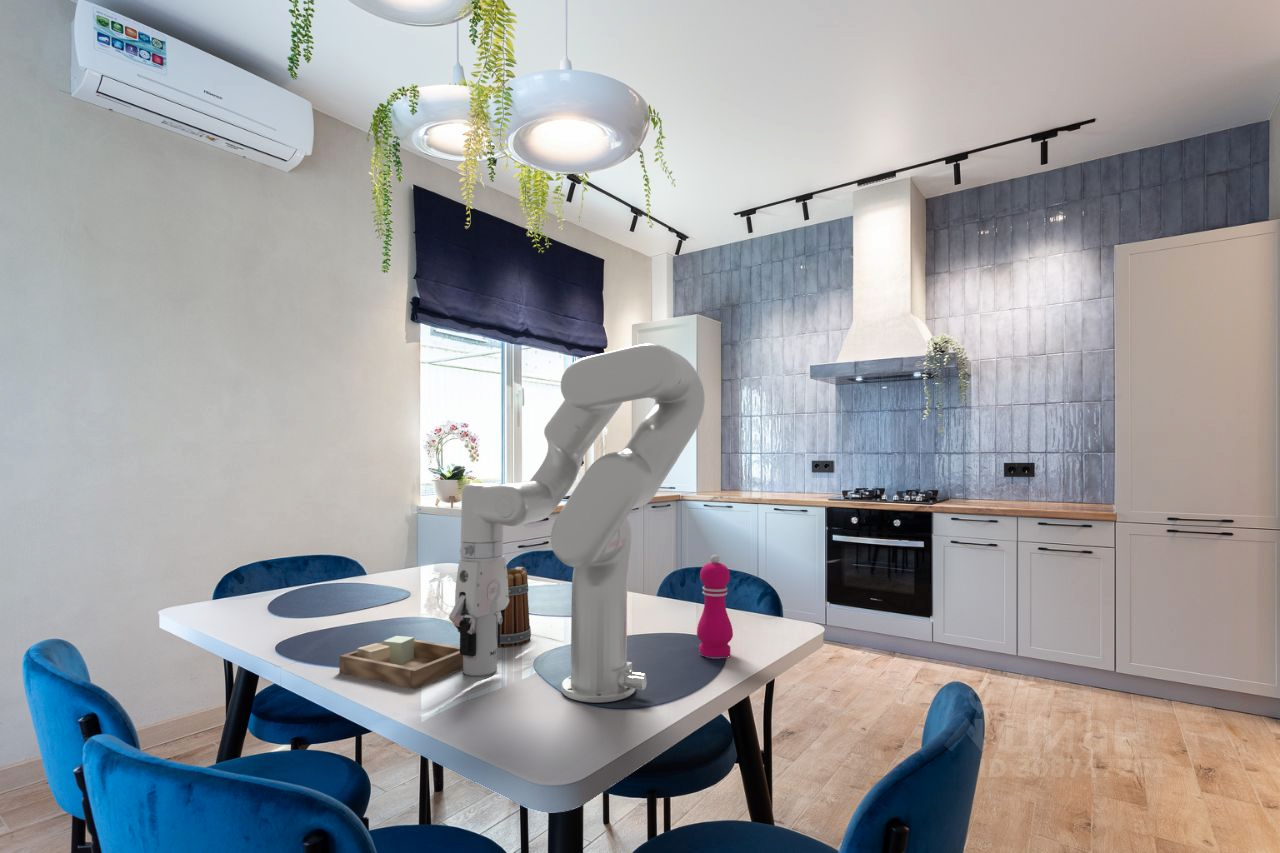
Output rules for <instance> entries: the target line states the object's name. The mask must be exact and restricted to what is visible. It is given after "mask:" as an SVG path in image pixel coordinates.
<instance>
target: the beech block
mask: <svg viewBox="0 0 1280 853" xmlns="http://www.w3.org/2000/svg"><path fill="white" fill-rule="evenodd" d="M378 643H379V642H375V643H371V644H368V645H365V646H361V647H357V648H356V650H357V657H360V658H366V659H371V660H376V661H381V662H386V663H390V647H389V646H386V645H382V644H378Z"/></svg>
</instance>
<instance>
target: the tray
mask: <svg viewBox="0 0 1280 853" xmlns="http://www.w3.org/2000/svg"><path fill="white" fill-rule="evenodd" d="M377 643H378V644H382V645H383V641H382V642H381V641H380V642H377ZM460 670H463V655H461V654H460V646H455V645H450V644H443V643H437V642H432V641H425V640H421V639H415V638H414V658H413V659H411V660H409V661H407V662H405V663H403V664H401V665H400V664H391V663H386V662H381V661H376V660H371V659H366V658H360V657H357V649H356V650H354V651H350V652H347V653H344V654H341V655H339V671H338V672H339V674H341V675H348V676H352V677H355V678H360V679H361V678H362V679H366V680H371V681H375V682H379V683H385V684H388V685H393V686H398V687H403V688H406V689H407V688H408V689H412V690H416V689H418V688H420V687H423V686H425V685H428V684H430V683H432V682H435V681H437V680H440V679H441V678H444V677H446V676H448V675H452V674H453V673H456V672H458V671H460Z"/></svg>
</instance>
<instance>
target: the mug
mask: <svg viewBox="0 0 1280 853" xmlns="http://www.w3.org/2000/svg"><path fill="white" fill-rule="evenodd" d="M507 575H508V598H509V603H508V606H507V607H506V609H505V613H504V614H503V616H502V619H503V620H502V623H501V624H500V645H499V646H497V648H513V647H518V646H519V647H520V646H522V645H525V644H528V643H529V642H530V641H531V637H532V632H531V631H532V629H531V625H530V608H529V581H528V579H529V578H528V572H527V569H526V567H525V566H516V567H514V568H510V570H509V568H507Z"/></svg>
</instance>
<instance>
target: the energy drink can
mask: <svg viewBox="0 0 1280 853" xmlns="http://www.w3.org/2000/svg"><path fill="white" fill-rule="evenodd" d="M466 614H468V615H469V613H468V611H466ZM466 622H467V623H468V625H469V622H470V619H468V618H467V621H466ZM473 633H476V655H475V656H473V657H471V656H465V655H463V669H462V672H463V673H464V674H465V675H467V676H469V677H477V678H478V677H479V678H480V677H484V678H483V680H484V679H489V678H492V677H493V676H494V675H493V674H494V673H495V672H496V671H497V669H498V647H497V634H498V611H497V601H491V603H490V611H489V614H488V615H486V616H484V617H481V618H477V621H476V625H475V629H474V632H473ZM489 675H490V676H489ZM485 676H487V677H485Z"/></svg>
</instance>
